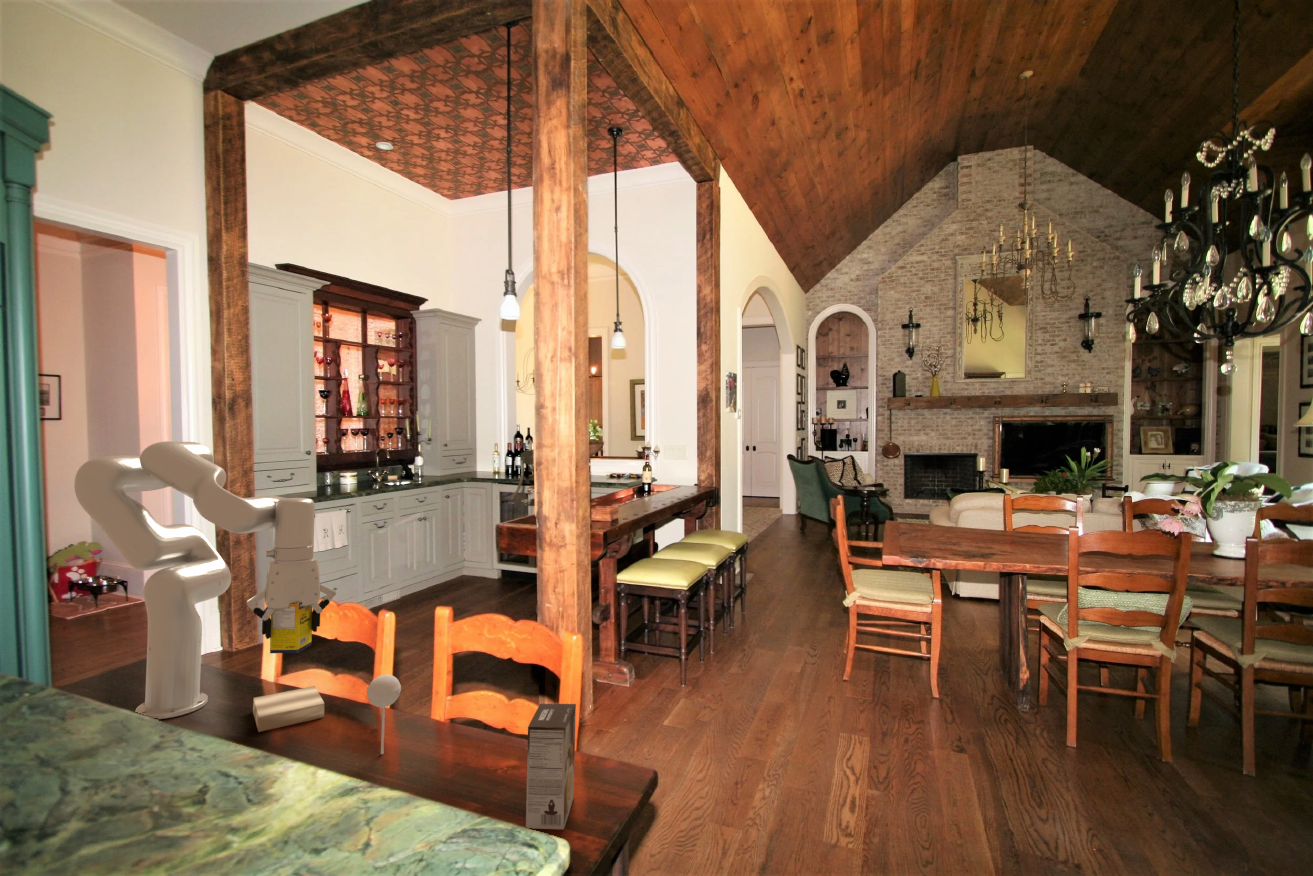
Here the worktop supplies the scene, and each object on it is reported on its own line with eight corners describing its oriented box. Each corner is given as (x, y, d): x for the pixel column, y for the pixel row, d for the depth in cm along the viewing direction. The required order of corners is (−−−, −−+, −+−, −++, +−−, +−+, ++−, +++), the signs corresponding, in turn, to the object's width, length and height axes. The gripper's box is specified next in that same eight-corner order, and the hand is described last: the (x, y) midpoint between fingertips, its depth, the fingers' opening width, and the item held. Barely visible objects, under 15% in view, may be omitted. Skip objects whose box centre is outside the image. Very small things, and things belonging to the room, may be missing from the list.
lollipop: (406, 749, 119) (408, 672, 119) (383, 764, 113) (386, 683, 114) (380, 744, 121) (383, 668, 121) (357, 758, 115) (360, 678, 116)
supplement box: (312, 645, 137) (313, 596, 137) (297, 654, 131) (298, 603, 131) (285, 645, 137) (286, 596, 137) (269, 654, 131) (270, 602, 131)
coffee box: (537, 796, 104) (539, 701, 104) (574, 797, 104) (576, 703, 104) (524, 829, 95) (527, 725, 95) (565, 831, 95) (567, 727, 95)
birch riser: (252, 711, 134) (253, 698, 134) (314, 699, 142) (314, 686, 142) (258, 732, 125) (258, 717, 125) (323, 717, 132) (324, 703, 132)
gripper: (248, 560, 126) (245, 645, 125) (341, 553, 137) (338, 631, 136) (245, 555, 132) (242, 636, 131) (334, 548, 142) (332, 623, 142)
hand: (291, 633), depth 134 cm, fingers closed on supplement box, 8 cm apart
